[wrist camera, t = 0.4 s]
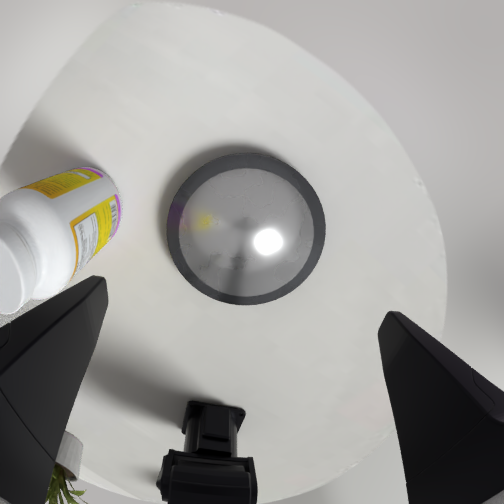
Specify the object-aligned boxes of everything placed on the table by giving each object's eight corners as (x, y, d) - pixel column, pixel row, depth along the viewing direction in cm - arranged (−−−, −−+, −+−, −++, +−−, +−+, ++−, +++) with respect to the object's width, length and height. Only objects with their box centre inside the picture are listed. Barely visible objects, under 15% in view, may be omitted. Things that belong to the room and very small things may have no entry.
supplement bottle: (45, 195, 22) (-60, 250, 10) (97, 149, 21) (-15, 177, 9) (85, 257, 25) (2, 345, 13) (141, 219, 24) (62, 301, 12)
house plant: (135, 463, 37) (118, 552, 22) (84, 469, 39) (63, 541, 24) (66, 407, 32) (25, 504, 17) (23, 420, 34) (-13, 494, 19)
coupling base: (294, 311, 27) (297, 319, 26) (158, 280, 26) (155, 288, 24) (342, 178, 23) (347, 181, 22) (187, 136, 22) (185, 136, 20)
